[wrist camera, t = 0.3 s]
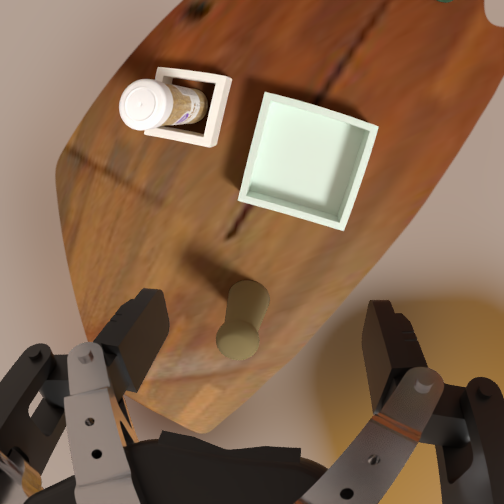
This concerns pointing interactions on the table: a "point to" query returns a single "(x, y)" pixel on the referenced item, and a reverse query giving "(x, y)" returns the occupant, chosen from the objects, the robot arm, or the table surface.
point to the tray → (306, 161)
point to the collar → (214, 113)
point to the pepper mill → (243, 320)
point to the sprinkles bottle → (160, 105)
